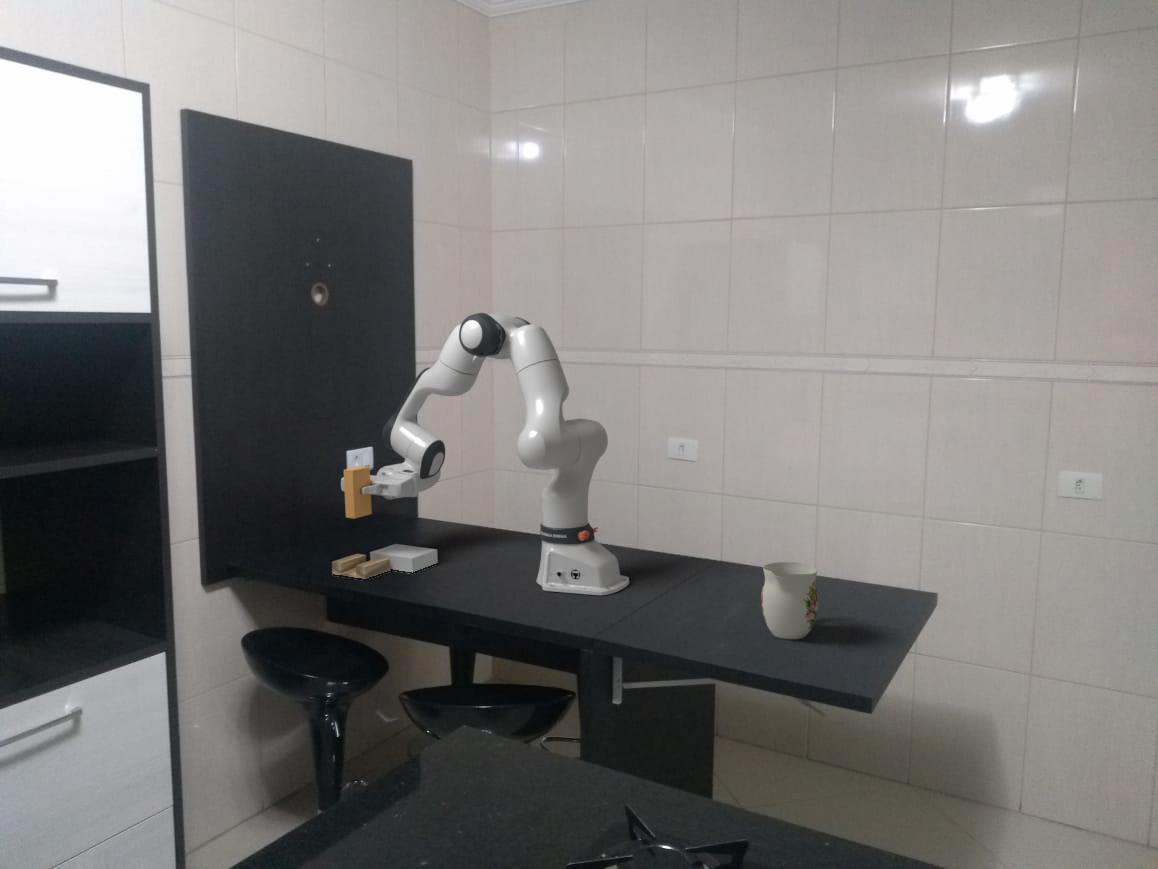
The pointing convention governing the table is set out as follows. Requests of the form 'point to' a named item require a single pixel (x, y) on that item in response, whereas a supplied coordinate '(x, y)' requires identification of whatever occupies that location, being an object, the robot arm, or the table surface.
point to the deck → (407, 557)
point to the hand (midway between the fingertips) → (355, 490)
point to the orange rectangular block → (357, 492)
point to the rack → (360, 566)
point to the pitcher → (789, 599)
